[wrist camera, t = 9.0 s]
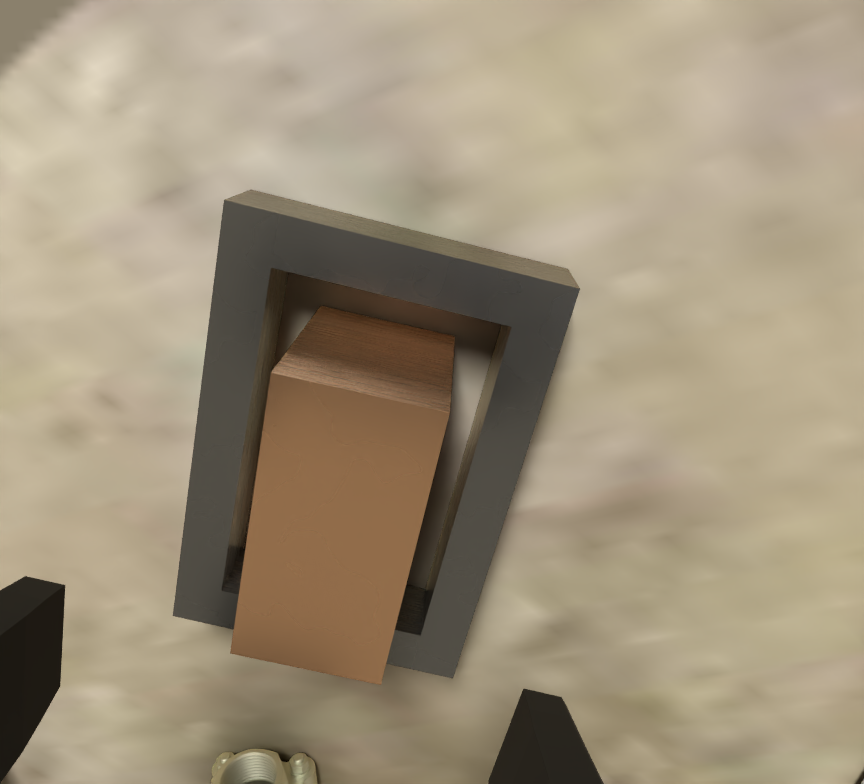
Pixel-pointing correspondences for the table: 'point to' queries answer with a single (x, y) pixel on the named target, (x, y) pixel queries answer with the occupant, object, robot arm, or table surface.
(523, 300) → the duct collar
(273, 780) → the pneumatic valve
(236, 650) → the brown rectangular block
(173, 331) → the table surface
